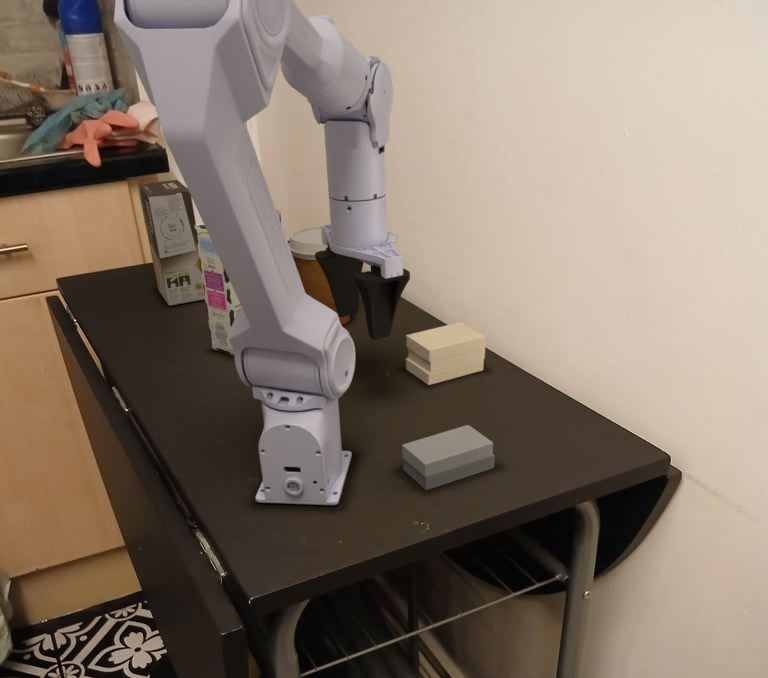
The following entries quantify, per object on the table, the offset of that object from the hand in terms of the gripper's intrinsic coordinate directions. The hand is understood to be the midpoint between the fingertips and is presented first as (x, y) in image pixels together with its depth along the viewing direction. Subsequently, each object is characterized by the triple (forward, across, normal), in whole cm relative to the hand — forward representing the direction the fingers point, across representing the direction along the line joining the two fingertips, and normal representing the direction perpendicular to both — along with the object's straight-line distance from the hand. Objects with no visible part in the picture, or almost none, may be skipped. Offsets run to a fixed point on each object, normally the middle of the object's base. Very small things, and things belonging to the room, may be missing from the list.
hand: (363, 325), depth 86 cm
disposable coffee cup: (+10, +26, -8) cm, 29 cm away
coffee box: (+10, +49, +7) cm, 50 cm away
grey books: (+9, -17, 0) cm, 20 cm away
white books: (+9, +3, -12) cm, 16 cm away
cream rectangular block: (+6, +3, -12) cm, 14 cm away
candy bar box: (+10, +25, +4) cm, 27 cm away
